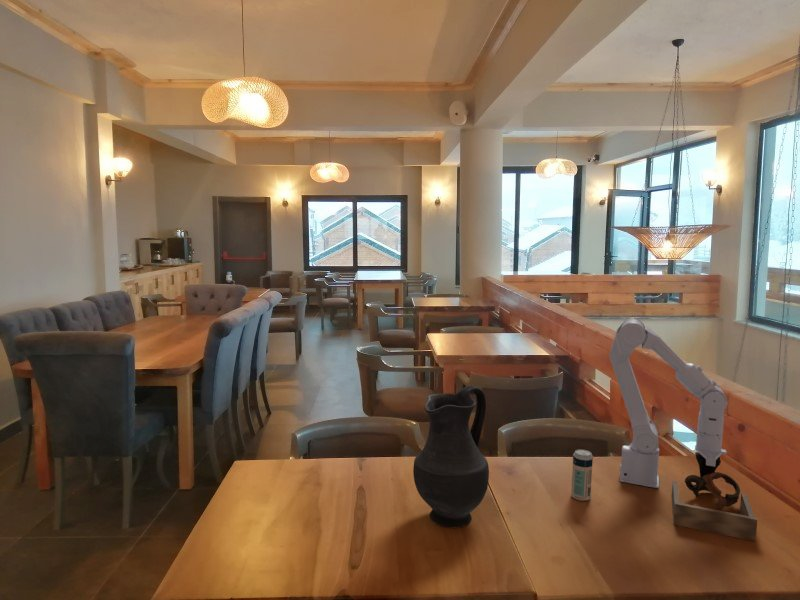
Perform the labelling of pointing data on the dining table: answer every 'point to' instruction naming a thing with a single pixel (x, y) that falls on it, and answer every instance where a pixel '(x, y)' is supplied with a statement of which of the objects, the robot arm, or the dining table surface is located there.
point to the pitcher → (453, 458)
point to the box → (715, 518)
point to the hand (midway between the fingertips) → (705, 482)
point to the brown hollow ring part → (713, 488)
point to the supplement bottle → (582, 475)
